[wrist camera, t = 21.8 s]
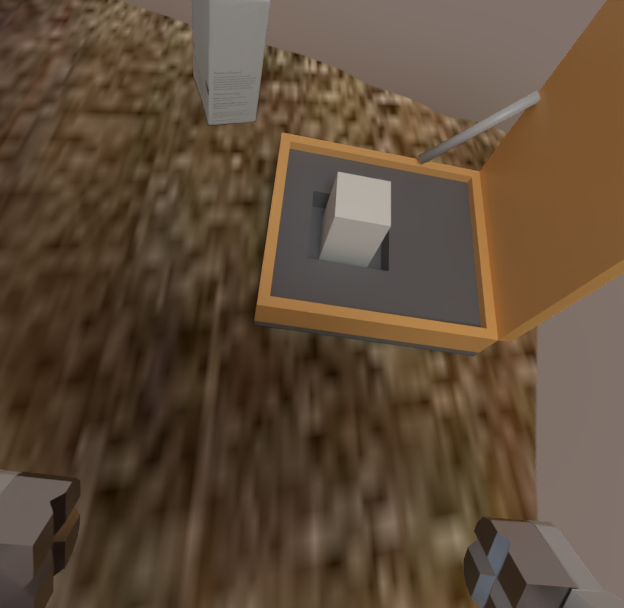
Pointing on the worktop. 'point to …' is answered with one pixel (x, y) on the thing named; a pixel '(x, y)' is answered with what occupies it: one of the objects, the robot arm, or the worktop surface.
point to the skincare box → (229, 56)
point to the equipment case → (465, 219)
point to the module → (355, 219)
